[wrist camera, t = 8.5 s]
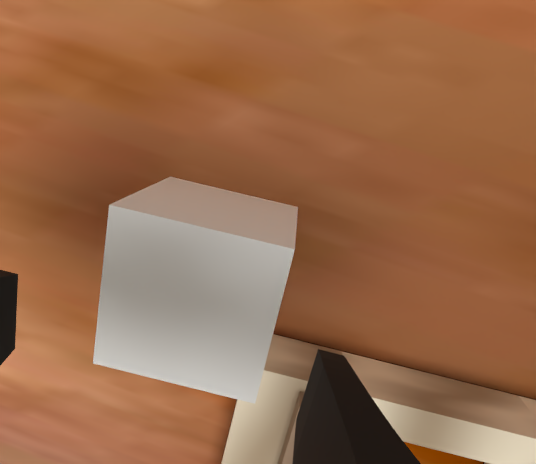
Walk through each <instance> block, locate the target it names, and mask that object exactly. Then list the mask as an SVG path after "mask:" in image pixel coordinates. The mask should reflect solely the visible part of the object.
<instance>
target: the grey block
mask: <svg viewBox="0 0 536 464" xmlns="http://www.w3.org/2000/svg"><path fill="white" fill-rule="evenodd" d="M297 215H298V207H296V206H292V205H288V204H283V203H279V202H275V201H271V200H267V199H262V198H258V197H254V196H250V195H246V194H241V193H237V192H233V191H229V190H225V189H220V188H216V187H212V186H208V185H204V184H199V183H195V182H191V181H187V180H183V179H178V178H174V177H168V178H166V179H164V180H162V181H160V182H158V183H155V184H153V185H151V186H149V187H147V188H144V189H142V190H140V191H138V192H136V193H134V194H131V195H129V196H127V197H125V198H123V199H120V200H118V201H116V202H114V203H112V204H110V205H109V212H108V222H107V231H106V241H105V251H104V261H103V270H102V280H101V290H100V300H99V309H98V319H97V329H96V338H95V348H94V358H93V363H94V364H98V365H102V366H106V367H110V368H114V369H118V370H122V371H126V372H130V373H134V374H138V375H142V376H146V377H150V378H154V379H158V380H162V381H166V382H170V383H174V384H178V385H182V386H186V387H190V388H194V389H198V390H202V391H206V392H210V393H214V394H218V395H222V396H226V397H230V398H234V399H238V400H242V401H246V402H250V403H254V404H255V402H256V398H257V394H258V390H259V386H260V383H261V379H262V375H263V371H264V367H265V363H266V359H267V355H268V352H269V348H270V344H271V340H272V336H273V332H274V328H275V324H276V321H277V317H278V313H279V309H280V305H281V301H282V297H283V293H284V290H285V286H286V282H287V278H288V274H289V270H290V266H291V262H292V259H293V255H294V251H295V241H296V228H297Z"/></svg>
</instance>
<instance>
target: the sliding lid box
mask: <svg viewBox="0 0 536 464" xmlns="http://www.w3.org/2000/svg"><path fill="white" fill-rule="evenodd" d="M318 349H320V350H324V351H328V352H332V353H336V354H340V355H344V356H345V358H346V359H347V361H348V362H349V364H350V365H351V367H352V368H353V370H354V371H355V373H356V374H357V376H358V377H359V379H360V381H361V382H362V384H363V385H364V387H365V388H366V390H367V391H368V393H369V394H370V396H371V397H372V399H373V400H374V402H375V403H376V405H377V406H378V407H379V409H380V410H381V412H382V413H383V415H384V416H385V417H386V419H387V420H388V422H389V423H390V424H391V426H392V427H393V429H394V430H395V431H396V433H397V434H398V435H399V437H400V438H401V439H402V441H404V442H408V443H411V444H415V445H419V446H423V447H427V448H431V449H435V450H439V451H443V452H447V453H451V454H455V455H459V456H462V457H466V458H470V459H474V460H478V461H482V462H485V463H484V464H536V400H533V399H529V398H525V397H521V396H517V395H513V394H509V393H506V392H502V391H498V390H494V389H490V388H486V387H482V386H478V385H474V384H470V383H466V382H462V381H458V380H454V379H450V378H446V377H442V376H438V375H434V374H430V373H426V372H422V371H418V370H414V369H410V368H406V367H402V366H398V365H394V364H390V363H386V362H382V361H378V360H374V359H370V358H366V357H362V356H358V355H354V354H350V353H346V352H342V351H338V350H334V349H330V348H327V347H323V346H319V345H315V344H311V343H307V342H303V341H299V340H295V339H291V338H287V337H283V336H279V335H275V334H273V336H272V340H271V344H270V348H269V352H268V355H267V359H266V363H265V367H264V371H263V375H262V379H261V383H260V386H259V390H258V394H257V398H256V402H255V404H254V403H250V402H246V401H242V400H238V399H237V402H236V406H235V410H234V414H233V418H232V422H231V426H230V430H229V434H228V438H227V442H226V446H225V450H224V454H223V458H222V462H221V464H293V451H294V439H295V428H296V419H297V415H298V412H299V409H300V406H301V403H302V399H303V396H304V393H305V390H306V386H307V383H308V380H309V377H310V374H311V370H312V367H313V364H314V361H315V357H316V354H317V351H318Z"/></svg>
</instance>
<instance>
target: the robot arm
mask: <svg viewBox="0 0 536 464" xmlns="http://www.w3.org/2000/svg"><path fill="white" fill-rule="evenodd" d="M17 284H18V274H15V273H11V272H7V271H3V270H0V365H1V364H2V363H3V362H4V361H5V359H6V358H7V357H8V356H9V355H10V354H11V352H12V351H13V350H14V349H15V333H16V308H17ZM293 464H420V462H419V461H418V460H417V459H416V457H415V456H414V455H413V453H412V452H411V451H410V450H409V448H408V447H407V446H406V445H405V443H404V442H403V441H402V439H401V438H400V437H399V435H398V434H397V433H396V431H395V430H394V429H393V427H392V426H391V424H390V423H389V422H388V420H387V419H386V417H385V416H384V415H383V413H382V412H381V410H380V409H379V407H378V406H377V405H376V403H375V402H374V400H373V399H372V397H371V396H370V394H369V393H368V391H367V390H366V388H365V387H364V385H363V384H362V382H361V381H360V379H359V377H358V376H357V374H356V373H355V371H354V370H353V368H352V367H351V365H350V364H349V362H348V361H347V359H346V358H345V356H344V355H340V354H336V353H332V352H328V351H324V350H320V349H318V351H317V354H316V357H315V361H314V364H313V367H312V370H311V374H310V377H309V380H308V383H307V386H306V390H305V393H304V396H303V399H302V403H301V406H300V409H299V412H298V415H297V419H296V428H295V439H294V451H293Z"/></svg>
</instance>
